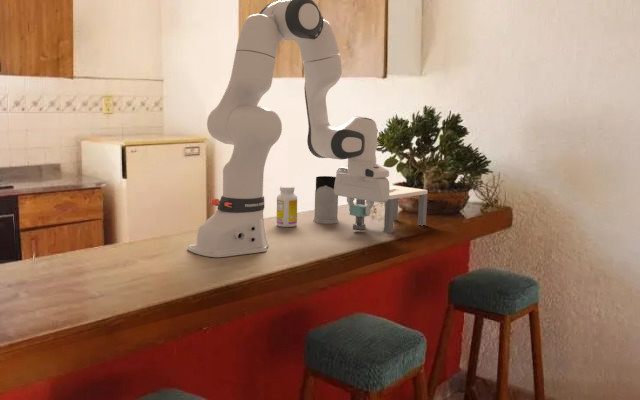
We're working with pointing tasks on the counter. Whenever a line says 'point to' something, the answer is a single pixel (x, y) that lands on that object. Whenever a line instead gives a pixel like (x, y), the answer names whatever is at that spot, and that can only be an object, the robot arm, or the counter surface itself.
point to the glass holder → (325, 200)
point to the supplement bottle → (287, 207)
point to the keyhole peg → (358, 216)
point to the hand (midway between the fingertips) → (359, 213)
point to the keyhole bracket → (392, 205)
